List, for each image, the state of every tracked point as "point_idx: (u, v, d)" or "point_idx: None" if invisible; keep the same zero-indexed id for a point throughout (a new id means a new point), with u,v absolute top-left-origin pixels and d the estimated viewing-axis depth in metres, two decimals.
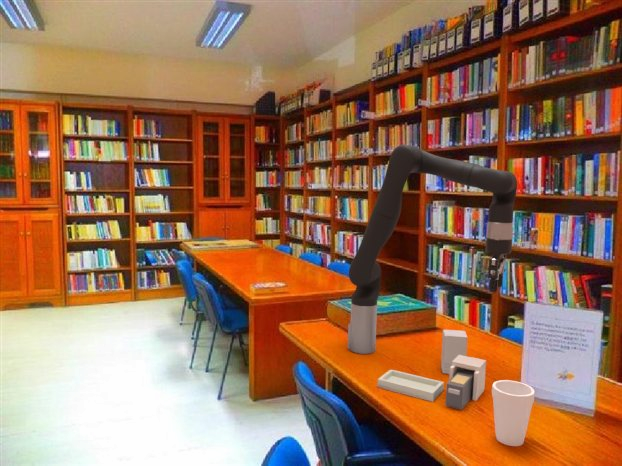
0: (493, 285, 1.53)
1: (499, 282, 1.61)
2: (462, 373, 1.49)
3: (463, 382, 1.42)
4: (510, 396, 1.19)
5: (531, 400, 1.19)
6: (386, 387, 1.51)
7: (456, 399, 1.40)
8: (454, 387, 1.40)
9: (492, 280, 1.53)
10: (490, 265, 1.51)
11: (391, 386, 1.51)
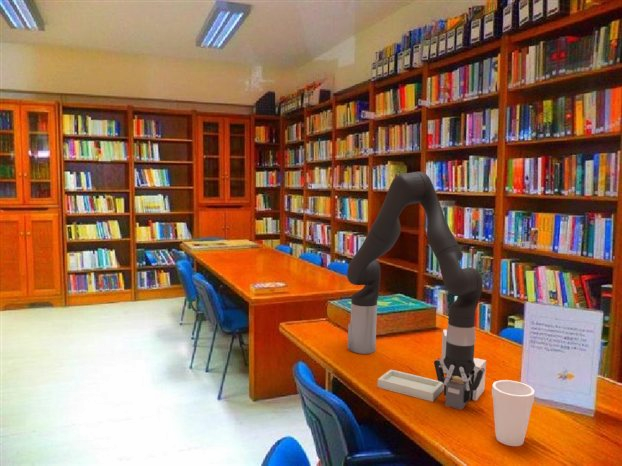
0: (470, 395, 1.41)
1: None
2: None
3: None
4: (510, 396, 1.19)
5: (531, 400, 1.19)
6: (386, 387, 1.51)
7: (456, 398, 1.40)
8: (454, 386, 1.40)
9: (469, 391, 1.41)
10: (480, 378, 1.38)
11: (391, 386, 1.51)
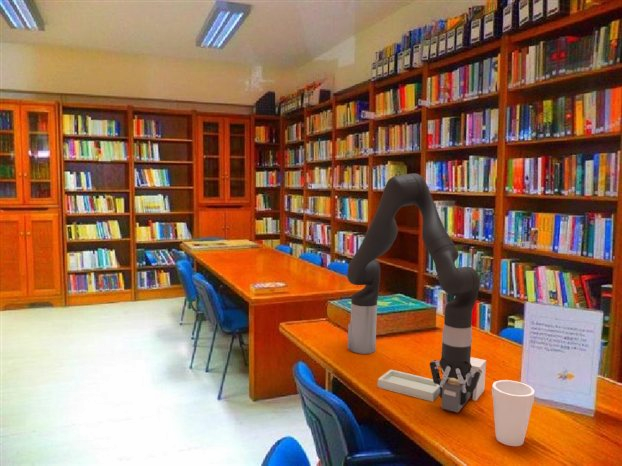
0: (467, 397, 1.37)
1: None
2: None
3: None
4: (510, 396, 1.19)
5: (531, 400, 1.19)
6: (386, 387, 1.51)
7: (452, 401, 1.36)
8: (450, 388, 1.36)
9: None
10: (477, 380, 1.35)
11: (391, 386, 1.51)
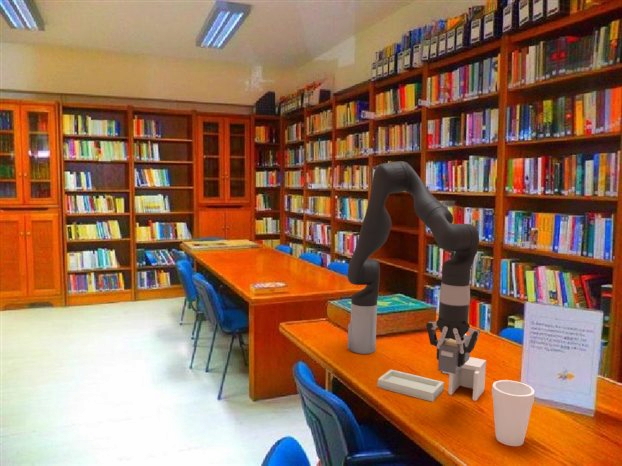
0: (464, 358, 1.33)
1: None
2: None
3: None
4: (510, 396, 1.19)
5: (531, 400, 1.19)
6: (386, 387, 1.51)
7: (449, 362, 1.32)
8: (447, 349, 1.32)
9: None
10: (475, 340, 1.30)
11: (391, 386, 1.51)
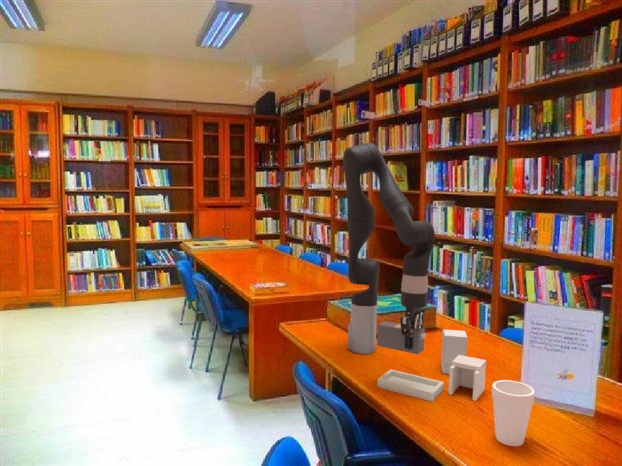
0: None
1: None
2: (389, 325, 1.53)
3: None
4: (510, 396, 1.19)
5: (531, 400, 1.19)
6: (386, 387, 1.51)
7: (422, 342, 1.50)
8: (421, 332, 1.49)
9: None
10: None
11: (391, 386, 1.51)
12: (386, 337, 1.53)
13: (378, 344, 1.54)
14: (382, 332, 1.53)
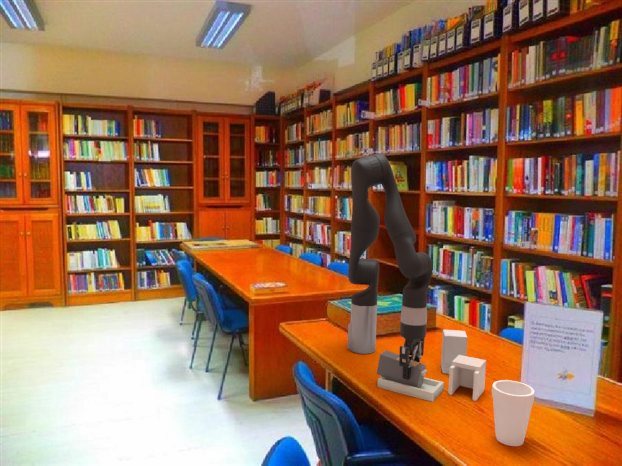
0: None
1: None
2: (391, 356, 1.54)
3: (415, 361, 1.53)
4: (510, 396, 1.19)
5: (531, 400, 1.19)
6: (386, 387, 1.51)
7: (421, 378, 1.51)
8: (423, 369, 1.50)
9: None
10: None
11: (391, 386, 1.51)
12: (387, 368, 1.54)
13: (378, 373, 1.55)
14: (383, 362, 1.54)
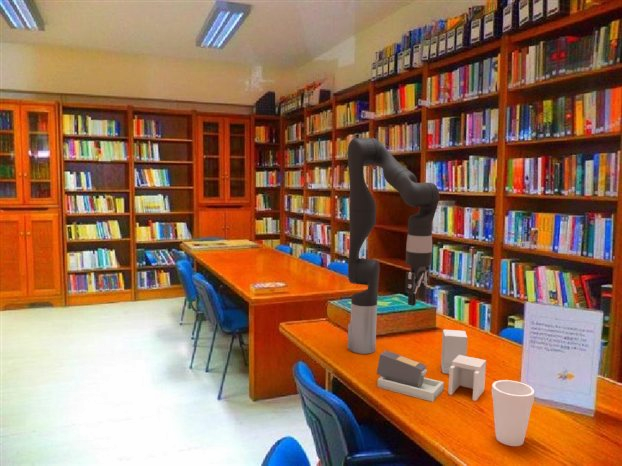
0: None
1: None
2: (391, 356, 1.54)
3: (415, 361, 1.53)
4: (510, 396, 1.19)
5: (531, 400, 1.19)
6: (386, 387, 1.51)
7: (421, 378, 1.51)
8: (423, 369, 1.50)
9: None
10: None
11: (391, 386, 1.51)
12: (387, 368, 1.54)
13: (378, 373, 1.55)
14: (383, 362, 1.54)
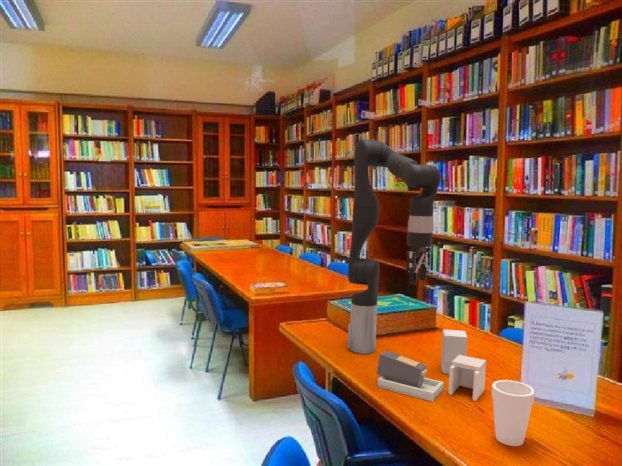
0: None
1: None
2: (391, 356, 1.54)
3: (415, 361, 1.53)
4: (510, 396, 1.19)
5: (531, 400, 1.19)
6: (386, 387, 1.51)
7: (421, 378, 1.51)
8: (423, 369, 1.50)
9: None
10: None
11: (391, 386, 1.51)
12: (387, 368, 1.54)
13: (378, 373, 1.55)
14: (383, 362, 1.54)
